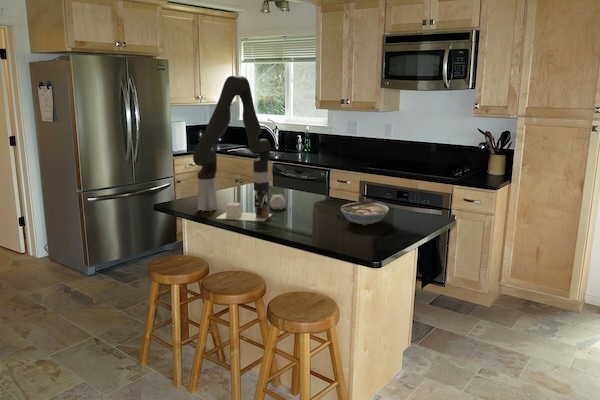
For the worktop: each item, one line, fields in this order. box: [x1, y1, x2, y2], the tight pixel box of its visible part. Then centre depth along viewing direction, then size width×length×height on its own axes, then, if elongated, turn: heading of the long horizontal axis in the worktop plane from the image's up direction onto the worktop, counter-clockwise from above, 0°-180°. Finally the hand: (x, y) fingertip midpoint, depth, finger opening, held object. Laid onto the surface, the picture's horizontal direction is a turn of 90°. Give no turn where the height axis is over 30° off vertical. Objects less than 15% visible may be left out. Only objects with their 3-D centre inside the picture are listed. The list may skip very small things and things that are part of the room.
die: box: [269, 194, 286, 210], centre depth 272 cm, size 8×9×10 cm
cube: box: [225, 201, 243, 218], centre depth 259 cm, size 6×6×6 cm
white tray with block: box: [216, 204, 273, 222], centre depth 258 cm, size 25×13×7 cm, turn 75°
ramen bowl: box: [334, 199, 390, 226], centre depth 245 cm, size 25×23×8 cm
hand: (262, 212), depth 255 cm, fingers open, 8 cm apart
